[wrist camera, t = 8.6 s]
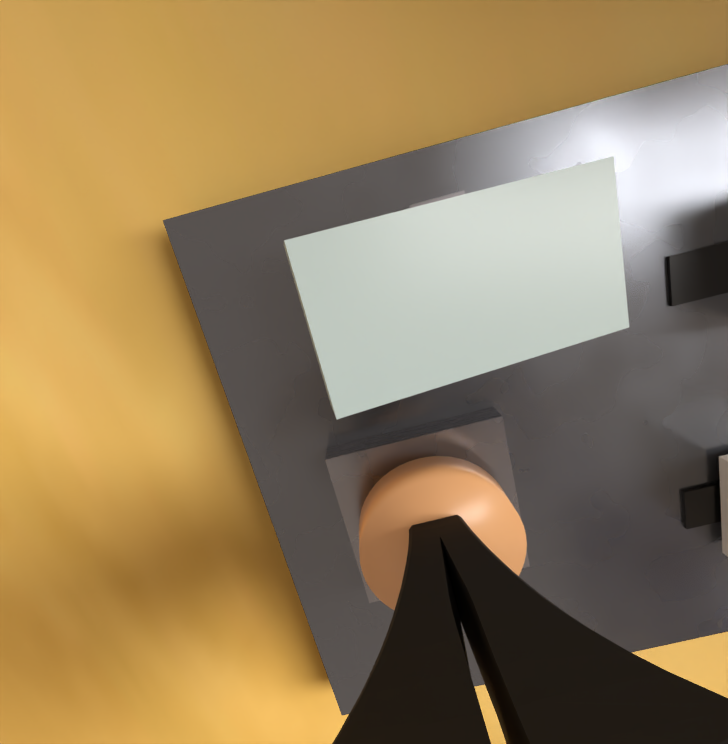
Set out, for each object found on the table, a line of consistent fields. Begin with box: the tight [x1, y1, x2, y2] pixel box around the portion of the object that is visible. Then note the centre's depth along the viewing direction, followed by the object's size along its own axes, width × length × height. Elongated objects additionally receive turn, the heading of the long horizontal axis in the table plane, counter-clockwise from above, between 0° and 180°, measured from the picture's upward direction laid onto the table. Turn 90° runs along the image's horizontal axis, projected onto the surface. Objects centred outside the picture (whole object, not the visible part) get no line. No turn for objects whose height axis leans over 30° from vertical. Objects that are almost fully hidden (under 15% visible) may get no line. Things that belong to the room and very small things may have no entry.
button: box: [359, 456, 527, 610], centre depth 12 cm, size 4×4×2 cm
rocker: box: [284, 156, 629, 419], centre depth 10 cm, size 4×8×1 cm, turn 104°
